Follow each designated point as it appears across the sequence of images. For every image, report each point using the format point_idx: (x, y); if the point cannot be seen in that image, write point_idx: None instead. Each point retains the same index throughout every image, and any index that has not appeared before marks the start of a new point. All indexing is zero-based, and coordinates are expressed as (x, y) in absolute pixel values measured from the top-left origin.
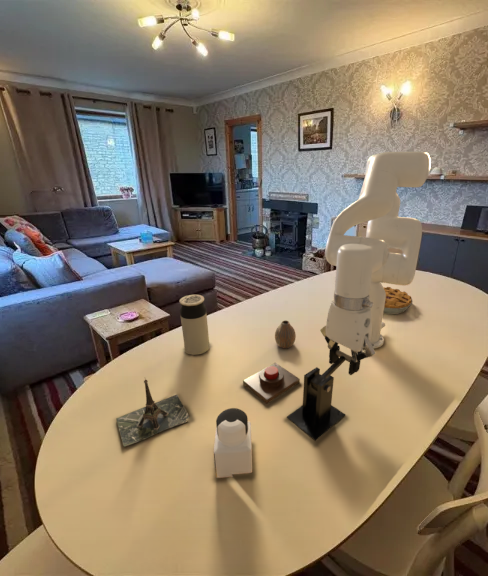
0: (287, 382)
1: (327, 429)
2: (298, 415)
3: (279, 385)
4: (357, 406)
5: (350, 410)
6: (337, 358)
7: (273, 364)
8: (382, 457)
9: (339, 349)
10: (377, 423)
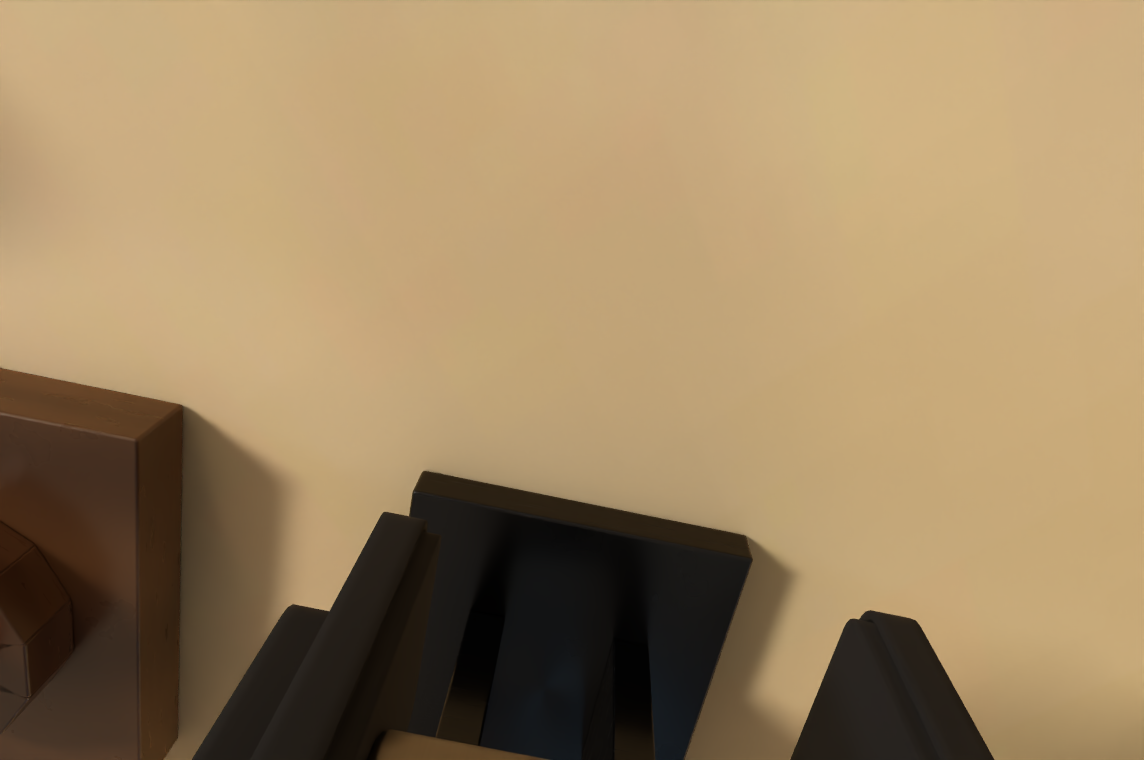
0: (93, 555)
1: (685, 749)
2: None
3: (74, 626)
4: (802, 342)
5: (758, 427)
6: (424, 593)
7: None
8: (1105, 696)
9: (366, 737)
10: (1028, 435)
